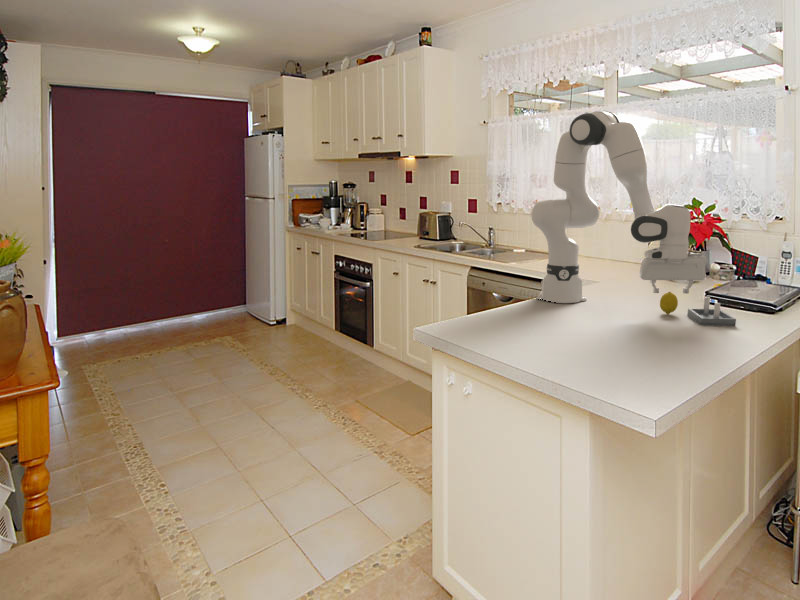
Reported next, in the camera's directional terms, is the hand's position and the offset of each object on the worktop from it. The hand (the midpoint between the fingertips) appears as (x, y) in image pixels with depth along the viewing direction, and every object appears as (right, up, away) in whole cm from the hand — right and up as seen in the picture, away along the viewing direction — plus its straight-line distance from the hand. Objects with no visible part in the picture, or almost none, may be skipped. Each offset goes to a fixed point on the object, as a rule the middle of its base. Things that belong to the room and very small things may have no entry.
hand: (670, 293), depth 189 cm
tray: (+9, -9, -7) cm, 15 cm away
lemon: (0, -8, +3) cm, 8 cm away
